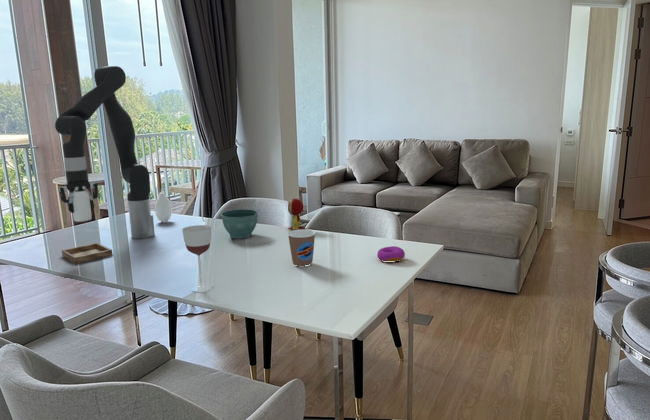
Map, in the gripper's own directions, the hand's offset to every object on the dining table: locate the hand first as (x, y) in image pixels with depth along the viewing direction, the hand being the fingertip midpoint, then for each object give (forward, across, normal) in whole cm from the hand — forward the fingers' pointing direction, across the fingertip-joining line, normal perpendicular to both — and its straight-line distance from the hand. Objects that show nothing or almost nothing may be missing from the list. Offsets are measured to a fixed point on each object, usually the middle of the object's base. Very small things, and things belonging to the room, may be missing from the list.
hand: (81, 210), depth 189 cm
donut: (+19, -76, +94) cm, 122 cm away
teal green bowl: (+19, -58, +22) cm, 65 cm away
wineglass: (+19, -12, +66) cm, 69 cm away
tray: (+18, 0, 0) cm, 18 cm away
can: (+4, 0, 0) cm, 4 cm away
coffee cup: (+19, -50, +72) cm, 90 cm away
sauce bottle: (+19, -48, -30) cm, 60 cm away
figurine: (+19, -82, +34) cm, 91 cm away
